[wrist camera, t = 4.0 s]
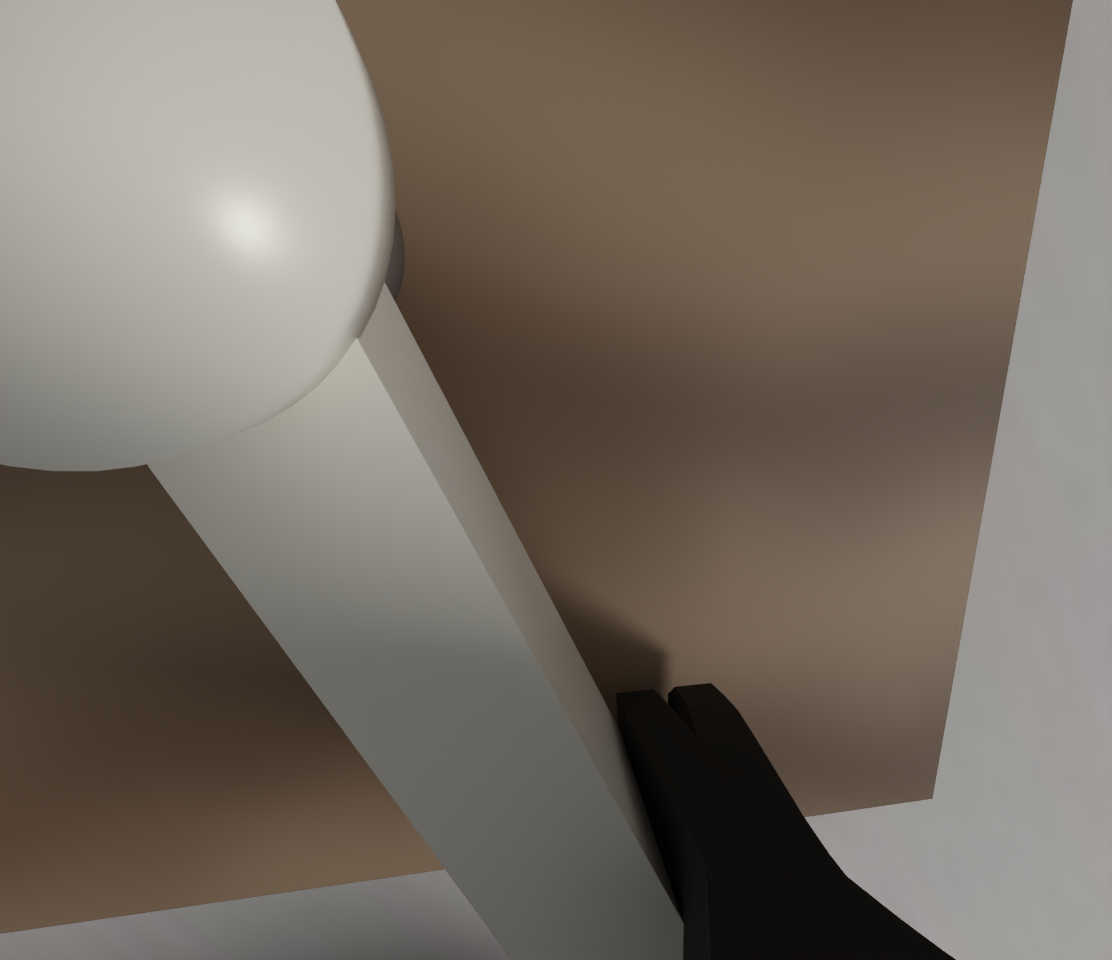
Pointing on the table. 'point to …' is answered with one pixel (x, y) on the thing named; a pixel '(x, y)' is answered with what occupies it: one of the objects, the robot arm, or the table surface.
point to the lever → (305, 429)
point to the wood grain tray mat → (591, 426)
